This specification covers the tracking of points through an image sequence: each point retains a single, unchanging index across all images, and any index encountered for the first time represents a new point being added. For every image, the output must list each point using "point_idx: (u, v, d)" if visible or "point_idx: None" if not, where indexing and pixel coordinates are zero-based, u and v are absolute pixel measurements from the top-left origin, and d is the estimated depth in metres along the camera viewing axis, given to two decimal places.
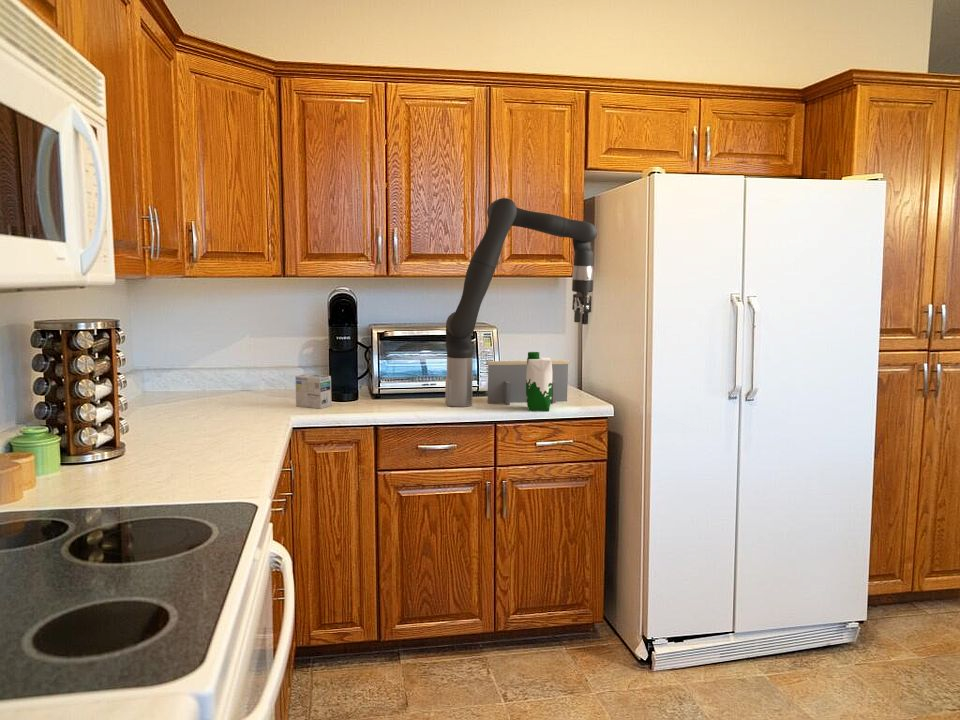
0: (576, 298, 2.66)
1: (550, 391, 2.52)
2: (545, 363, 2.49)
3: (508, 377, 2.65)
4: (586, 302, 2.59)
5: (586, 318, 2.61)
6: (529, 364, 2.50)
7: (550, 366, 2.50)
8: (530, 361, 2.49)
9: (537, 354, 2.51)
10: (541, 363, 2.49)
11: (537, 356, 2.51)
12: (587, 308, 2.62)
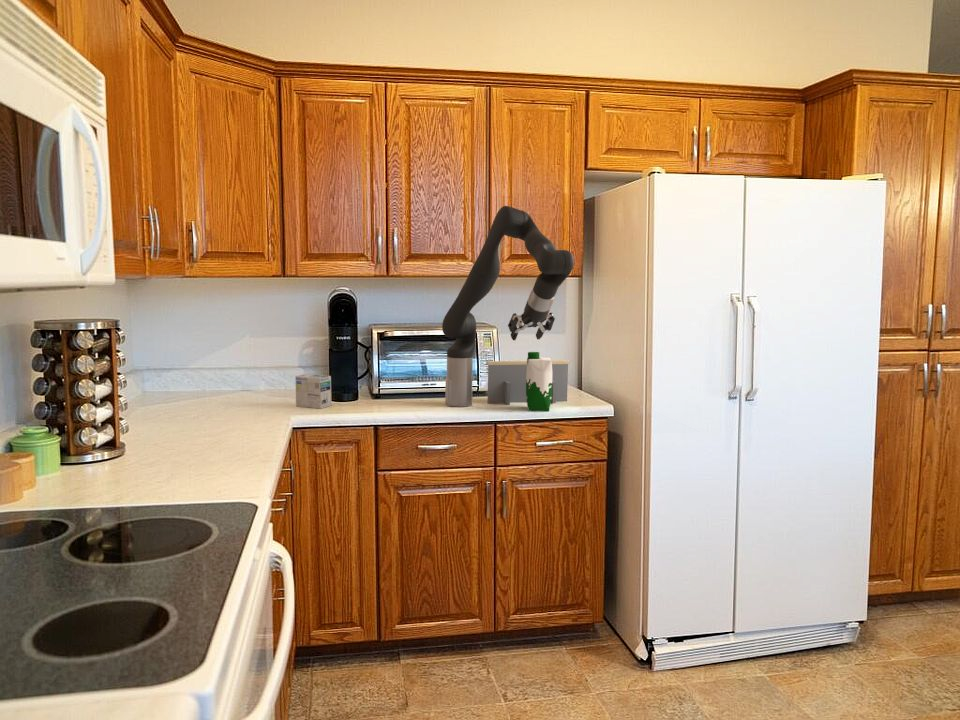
0: None
1: (550, 391, 2.52)
2: (545, 363, 2.49)
3: (508, 377, 2.65)
4: (511, 319, 2.29)
5: (512, 334, 2.33)
6: (529, 364, 2.50)
7: (550, 366, 2.50)
8: (530, 361, 2.49)
9: (537, 354, 2.51)
10: (541, 363, 2.49)
11: (537, 356, 2.51)
12: None
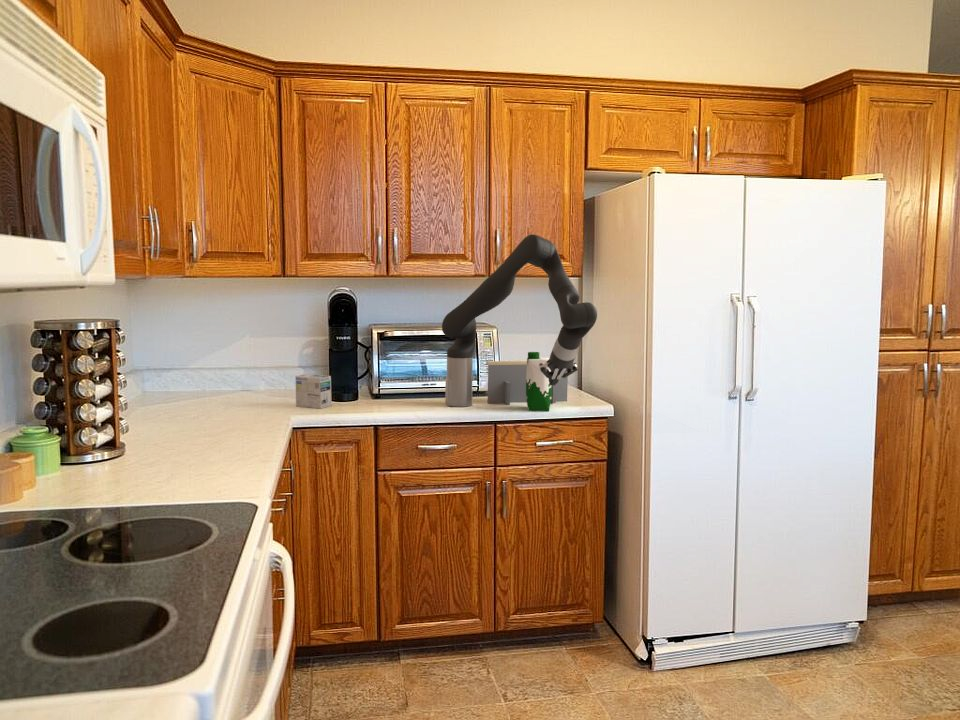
0: None
1: (550, 391, 2.52)
2: (545, 363, 2.49)
3: (508, 377, 2.65)
4: None
5: (549, 379, 2.37)
6: (529, 364, 2.50)
7: None
8: (530, 361, 2.49)
9: (537, 354, 2.51)
10: None
11: (537, 356, 2.51)
12: (552, 374, 2.34)
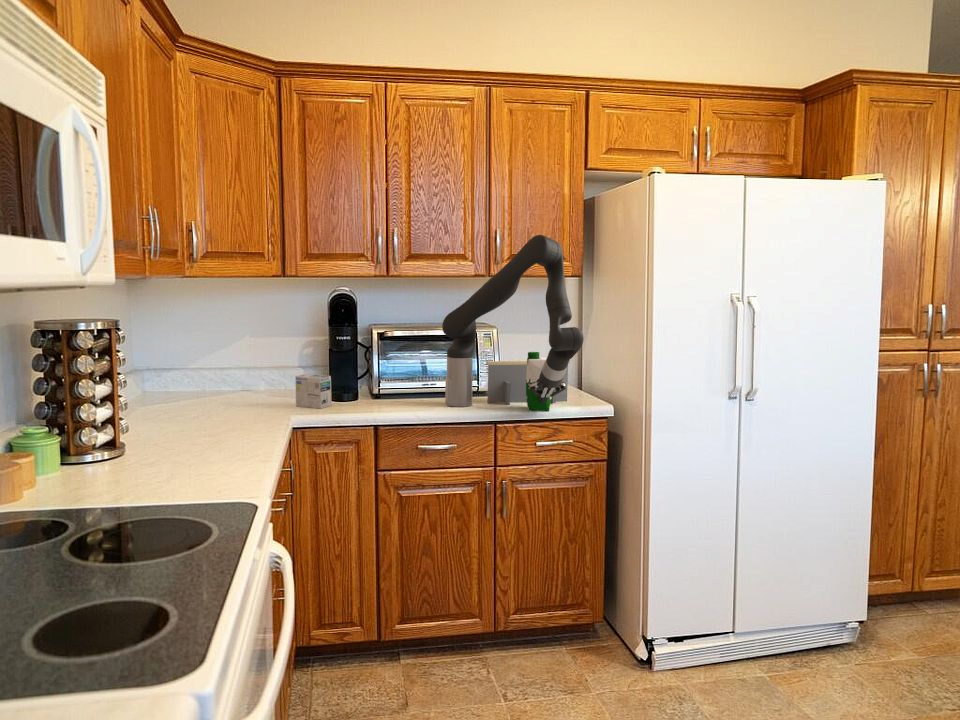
0: None
1: None
2: None
3: (508, 377, 2.65)
4: None
5: (539, 397, 2.48)
6: (529, 364, 2.50)
7: None
8: (530, 361, 2.49)
9: (537, 354, 2.51)
10: (541, 363, 2.49)
11: (537, 356, 2.51)
12: (541, 393, 2.45)
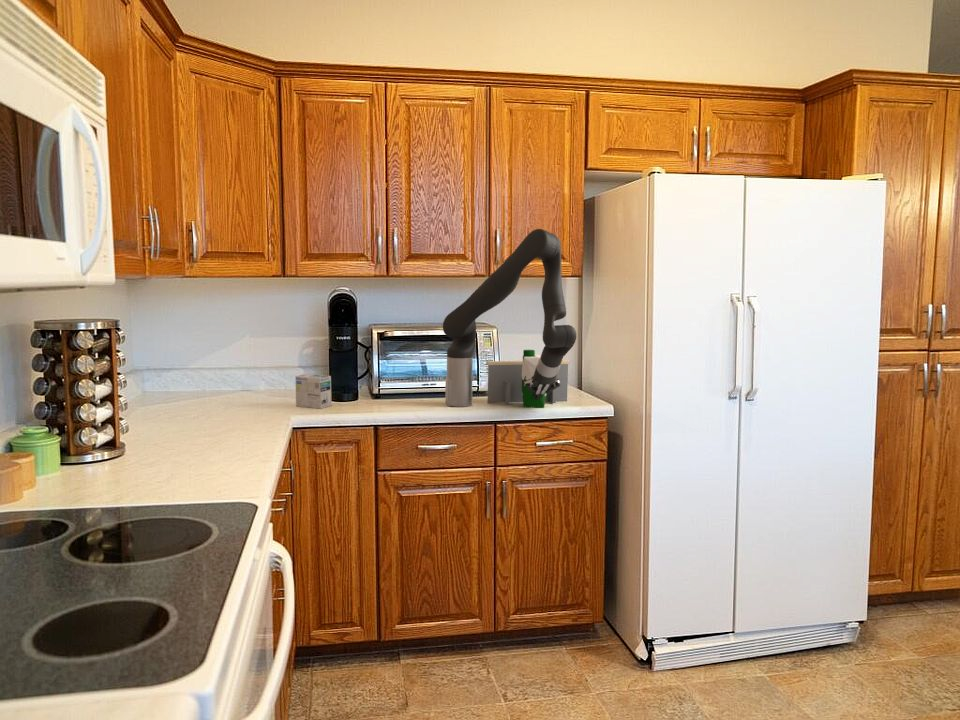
0: None
1: None
2: None
3: (508, 377, 2.65)
4: None
5: (534, 394, 2.55)
6: (524, 361, 2.56)
7: None
8: (525, 359, 2.55)
9: (532, 352, 2.57)
10: (537, 361, 2.55)
11: (532, 354, 2.57)
12: (536, 390, 2.52)
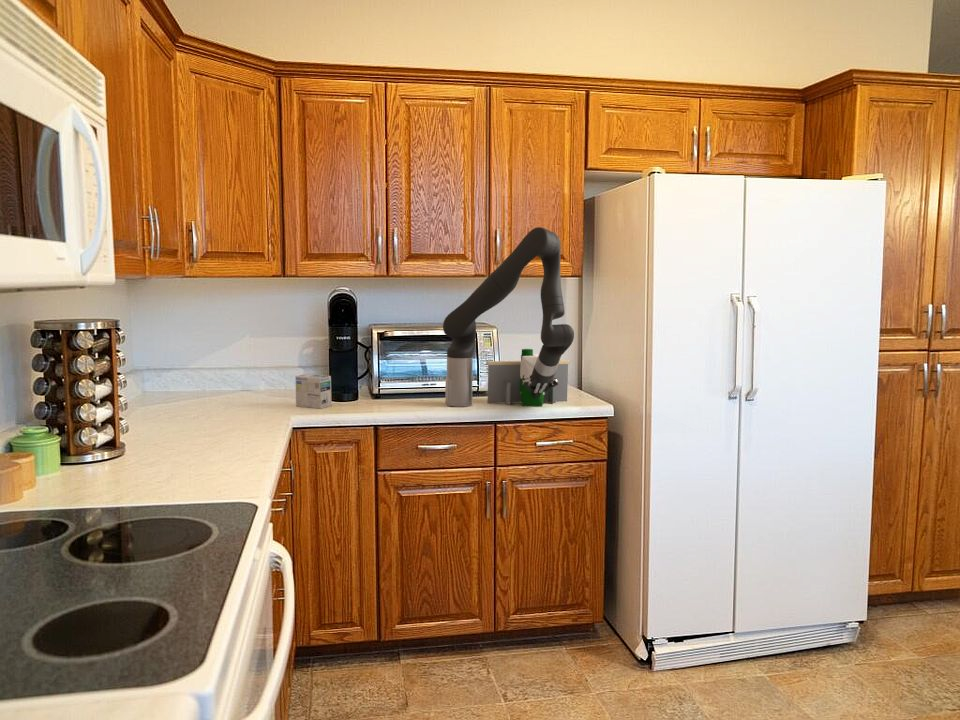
0: None
1: None
2: None
3: (508, 377, 2.65)
4: None
5: (532, 393, 2.57)
6: (523, 361, 2.58)
7: None
8: (524, 358, 2.58)
9: (530, 351, 2.60)
10: (535, 360, 2.58)
11: (530, 353, 2.60)
12: (535, 388, 2.54)
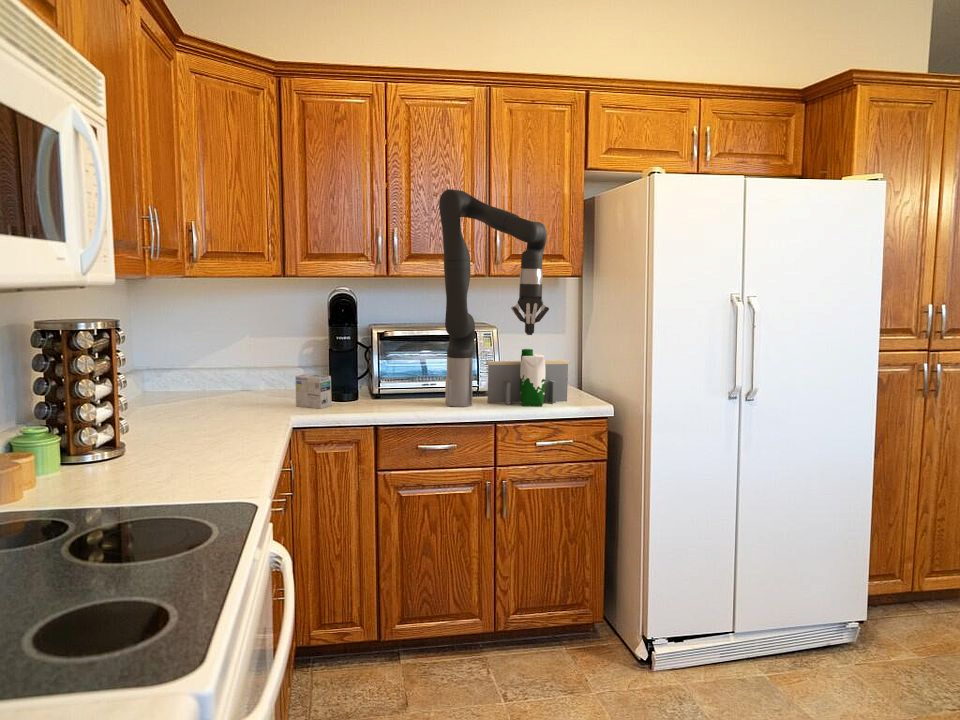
0: None
1: (543, 387, 2.60)
2: (538, 360, 2.58)
3: (508, 377, 2.65)
4: (515, 313, 2.42)
5: (525, 328, 2.42)
6: (523, 361, 2.58)
7: (543, 363, 2.58)
8: (524, 358, 2.58)
9: (530, 351, 2.60)
10: (535, 360, 2.58)
11: (530, 353, 2.60)
12: (526, 318, 2.41)
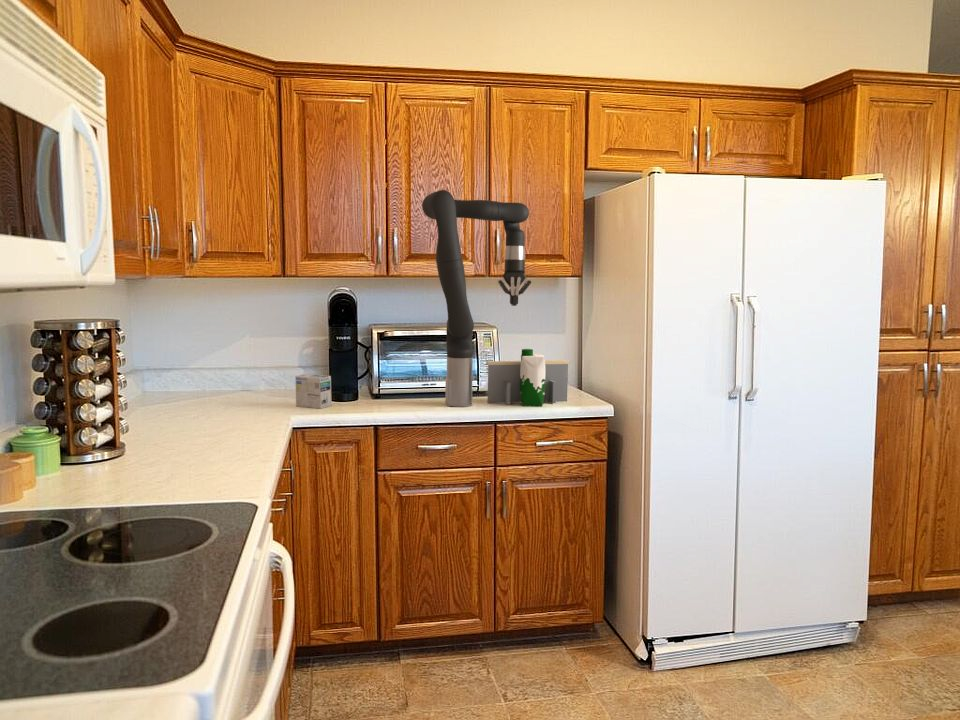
0: None
1: (543, 387, 2.60)
2: (538, 360, 2.58)
3: (508, 377, 2.65)
4: (501, 286, 2.70)
5: (510, 299, 2.70)
6: (523, 361, 2.58)
7: (543, 363, 2.58)
8: (524, 358, 2.58)
9: (530, 351, 2.60)
10: (535, 360, 2.58)
11: (530, 353, 2.60)
12: (511, 290, 2.69)
